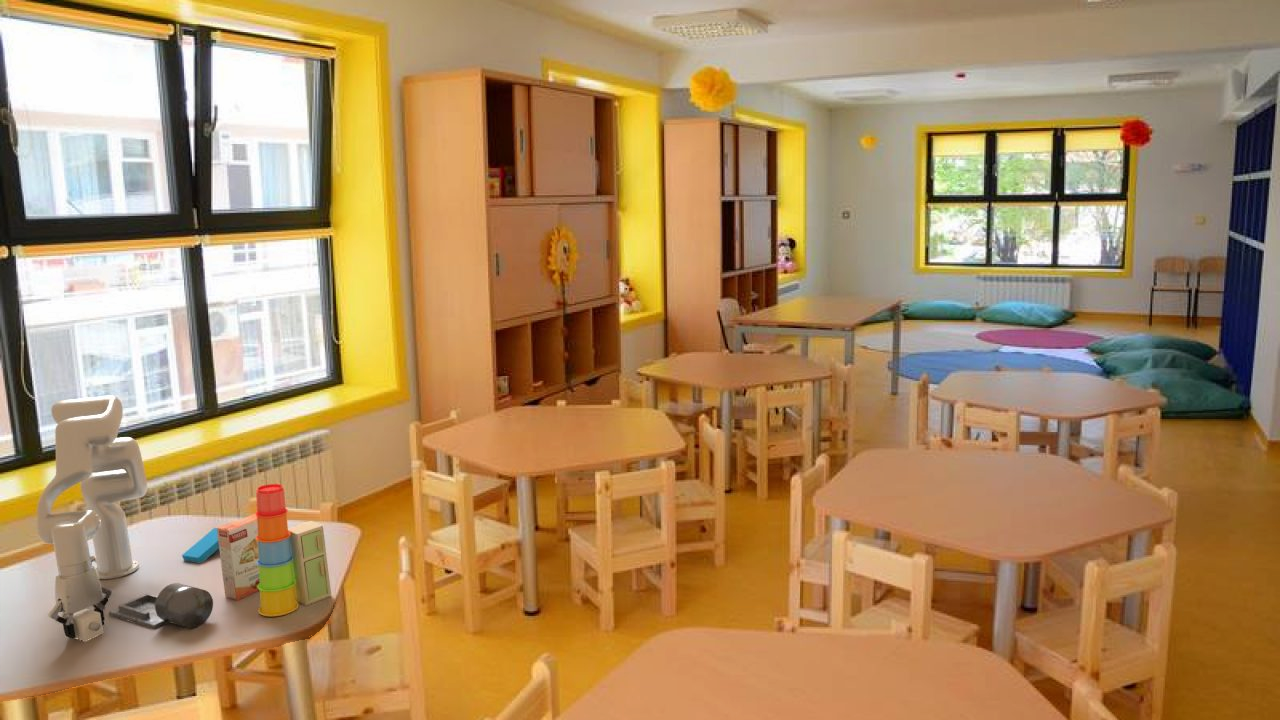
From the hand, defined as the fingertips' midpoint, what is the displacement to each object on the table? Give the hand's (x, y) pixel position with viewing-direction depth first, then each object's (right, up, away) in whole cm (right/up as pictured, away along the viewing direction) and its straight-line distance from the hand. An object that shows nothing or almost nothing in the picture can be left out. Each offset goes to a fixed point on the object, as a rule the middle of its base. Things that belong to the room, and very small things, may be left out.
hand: (85, 630), depth 253 cm
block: (0, -1, 0) cm, 1 cm away
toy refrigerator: (+54, +4, +16) cm, 57 cm away
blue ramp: (+9, +9, +55) cm, 57 cm away
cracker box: (+34, +5, +24) cm, 42 cm away
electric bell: (+16, +1, +9) cm, 18 cm away
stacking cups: (+47, +3, +10) cm, 48 cm away
